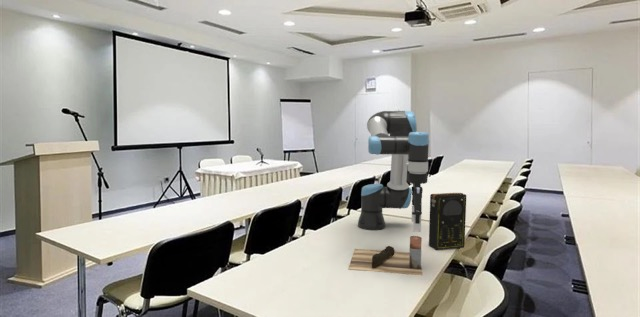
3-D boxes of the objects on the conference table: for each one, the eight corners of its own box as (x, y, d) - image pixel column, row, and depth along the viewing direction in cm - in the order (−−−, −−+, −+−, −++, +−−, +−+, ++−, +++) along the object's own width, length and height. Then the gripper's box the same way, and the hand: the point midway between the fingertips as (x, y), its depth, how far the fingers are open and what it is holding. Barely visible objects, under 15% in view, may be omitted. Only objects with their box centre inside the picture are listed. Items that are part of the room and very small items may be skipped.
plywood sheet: (354, 249, 166) (354, 248, 166) (418, 253, 160) (418, 253, 160) (348, 269, 142) (348, 268, 142) (422, 275, 137) (422, 274, 137)
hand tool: (386, 253, 159) (386, 243, 159) (394, 255, 157) (394, 245, 157) (365, 267, 144) (365, 256, 144) (375, 270, 142) (375, 258, 141)
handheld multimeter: (436, 251, 163) (438, 196, 161) (426, 245, 172) (427, 192, 169) (466, 248, 167) (468, 194, 165) (455, 242, 176) (456, 191, 174)
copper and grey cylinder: (409, 264, 147) (409, 235, 146) (420, 265, 146) (421, 236, 145) (409, 269, 143) (410, 238, 141) (421, 269, 142) (422, 239, 141)
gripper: (406, 167, 154) (405, 217, 156) (408, 177, 129) (407, 235, 132) (425, 168, 152) (423, 218, 155) (430, 177, 128) (428, 236, 130)
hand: (415, 226), depth 143 cm, fingers open, 13 cm apart
